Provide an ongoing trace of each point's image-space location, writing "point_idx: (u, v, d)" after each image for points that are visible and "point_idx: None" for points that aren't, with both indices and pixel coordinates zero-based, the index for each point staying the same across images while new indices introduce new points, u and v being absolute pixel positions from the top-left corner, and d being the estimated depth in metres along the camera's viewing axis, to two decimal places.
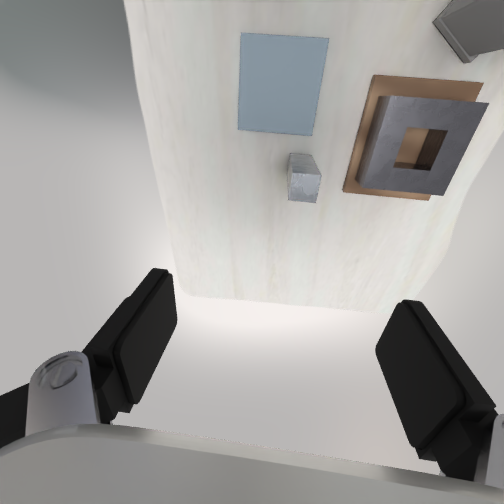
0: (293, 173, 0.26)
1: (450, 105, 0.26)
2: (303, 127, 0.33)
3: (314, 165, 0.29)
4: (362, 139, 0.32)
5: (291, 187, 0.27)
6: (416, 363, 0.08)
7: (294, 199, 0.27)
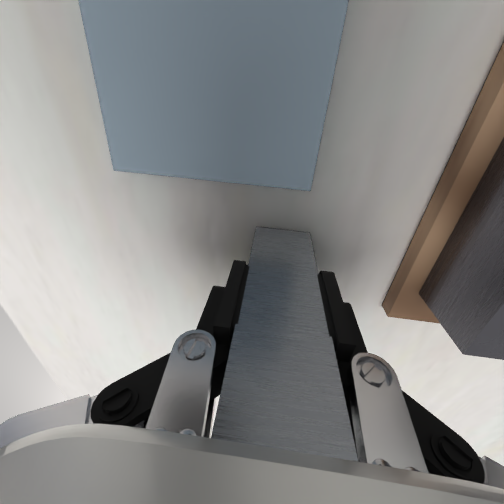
0: None
1: None
2: (288, 167, 0.12)
3: (320, 318, 0.08)
4: (455, 205, 0.11)
5: None
6: None
7: None
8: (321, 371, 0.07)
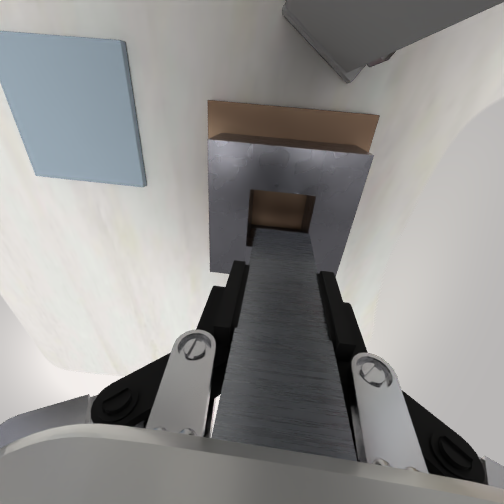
0: None
1: (309, 157, 0.15)
2: (127, 174, 0.21)
3: (319, 320, 0.08)
4: None
5: None
6: None
7: None
8: (321, 373, 0.07)
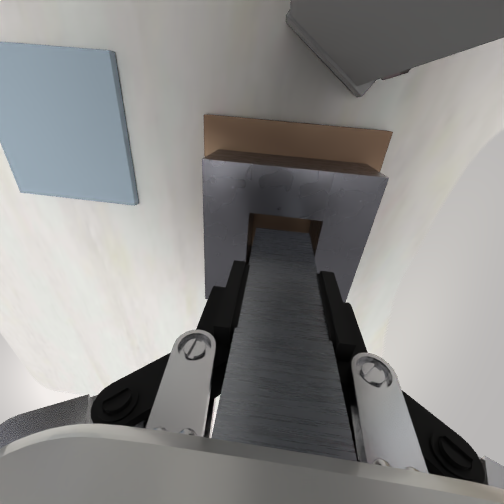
0: None
1: (316, 179, 0.13)
2: (118, 192, 0.20)
3: (319, 319, 0.08)
4: None
5: None
6: None
7: None
8: (320, 372, 0.07)
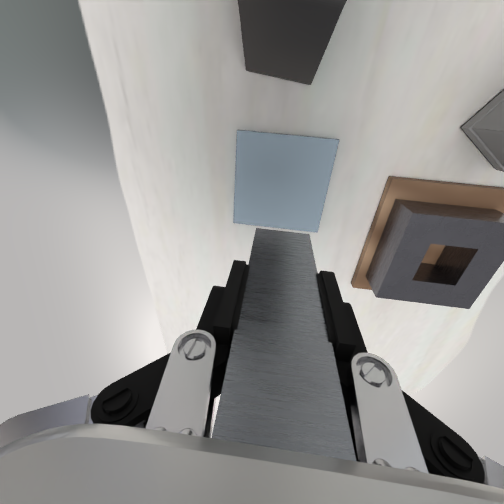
0: None
1: (482, 225, 0.22)
2: (308, 223, 0.29)
3: (319, 320, 0.08)
4: (375, 239, 0.28)
5: None
6: None
7: None
8: (320, 374, 0.07)
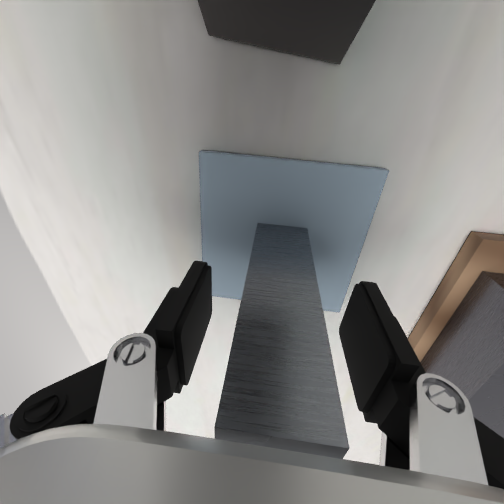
0: (219, 427, 0.06)
1: None
2: (325, 300, 0.17)
3: (314, 304, 0.09)
4: (436, 327, 0.17)
5: None
6: (365, 336, 0.09)
7: None
8: (314, 348, 0.08)
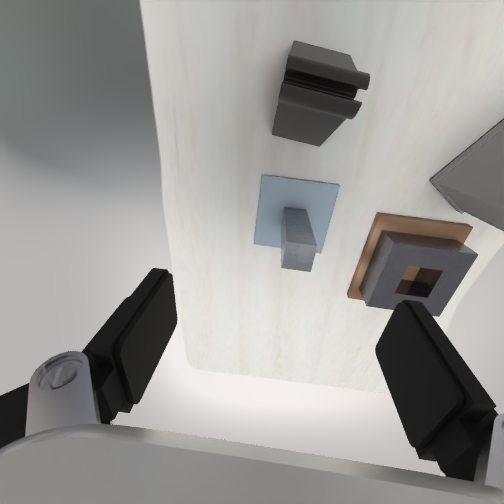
0: (287, 242, 0.24)
1: (445, 253, 0.30)
2: None
3: (309, 227, 0.28)
4: (366, 260, 0.36)
5: (284, 255, 0.25)
6: (416, 363, 0.08)
7: (287, 267, 0.25)
8: (309, 234, 0.26)
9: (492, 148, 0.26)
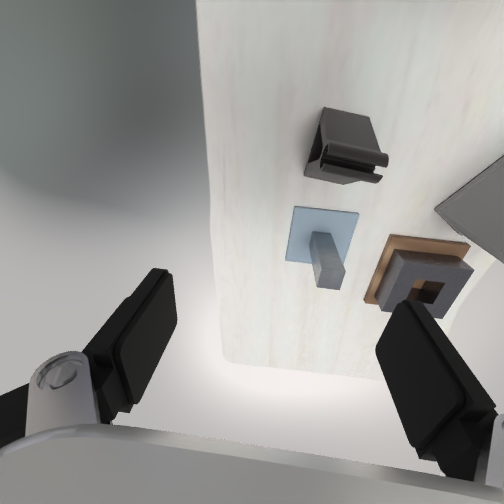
0: (322, 269, 0.31)
1: (447, 269, 0.37)
2: None
3: (336, 253, 0.35)
4: (381, 272, 0.43)
5: (319, 278, 0.32)
6: (416, 363, 0.08)
7: (321, 286, 0.33)
8: (337, 260, 0.33)
9: (484, 188, 0.32)
